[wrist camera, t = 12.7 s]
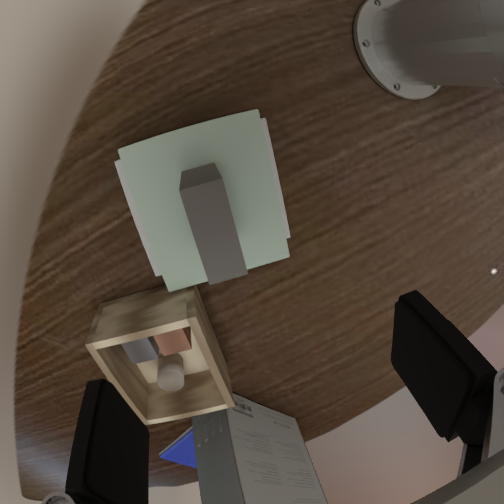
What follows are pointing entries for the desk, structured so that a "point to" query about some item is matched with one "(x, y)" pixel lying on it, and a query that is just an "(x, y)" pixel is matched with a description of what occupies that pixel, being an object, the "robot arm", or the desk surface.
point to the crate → (161, 354)
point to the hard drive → (181, 450)
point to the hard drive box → (253, 457)
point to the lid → (207, 199)
